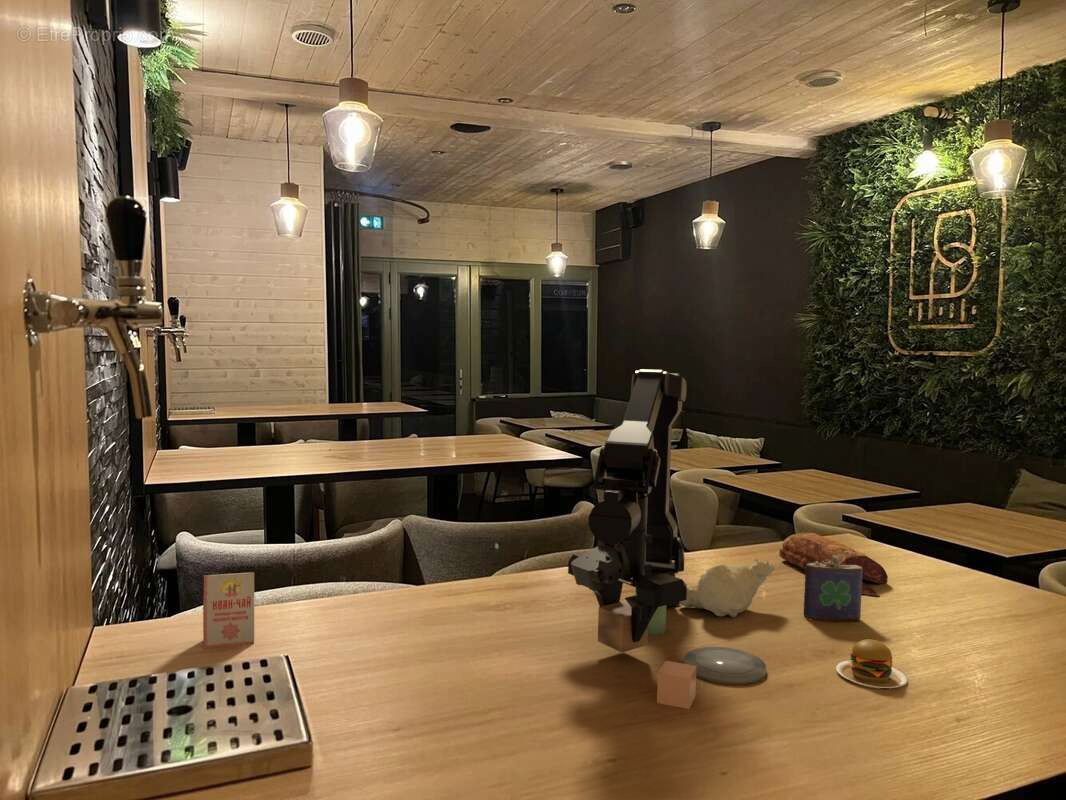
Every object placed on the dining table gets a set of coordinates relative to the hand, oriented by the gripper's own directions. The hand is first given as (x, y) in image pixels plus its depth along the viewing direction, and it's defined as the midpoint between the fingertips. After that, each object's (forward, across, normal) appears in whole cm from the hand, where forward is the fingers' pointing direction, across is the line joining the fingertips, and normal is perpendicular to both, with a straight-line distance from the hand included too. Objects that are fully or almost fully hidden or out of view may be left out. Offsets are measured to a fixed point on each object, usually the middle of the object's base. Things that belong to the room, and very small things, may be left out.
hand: (622, 635), depth 113 cm
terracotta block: (+3, +14, -4) cm, 15 cm away
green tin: (+3, -5, +11) cm, 13 cm away
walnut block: (+1, 0, 0) cm, 1 cm away
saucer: (+3, +11, +9) cm, 15 cm away
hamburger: (+4, +24, +23) cm, 34 cm away
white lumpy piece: (+3, -5, +30) cm, 30 cm away
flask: (+3, +8, +40) cm, 41 cm away
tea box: (+3, -36, -44) cm, 57 cm away
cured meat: (+4, -6, +62) cm, 63 cm away
